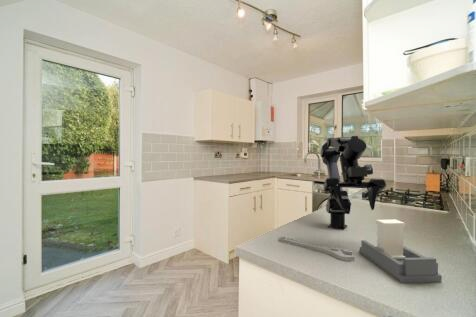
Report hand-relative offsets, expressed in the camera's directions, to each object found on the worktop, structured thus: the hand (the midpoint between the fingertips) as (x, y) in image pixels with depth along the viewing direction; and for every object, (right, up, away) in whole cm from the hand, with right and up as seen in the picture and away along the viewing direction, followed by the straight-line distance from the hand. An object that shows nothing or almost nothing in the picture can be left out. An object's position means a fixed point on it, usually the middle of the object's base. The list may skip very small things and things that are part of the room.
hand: (357, 209), depth 75 cm
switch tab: (+5, -12, -8) cm, 15 cm away
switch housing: (+5, -13, -10) cm, 18 cm away
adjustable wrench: (-13, -14, +2) cm, 20 cm away
